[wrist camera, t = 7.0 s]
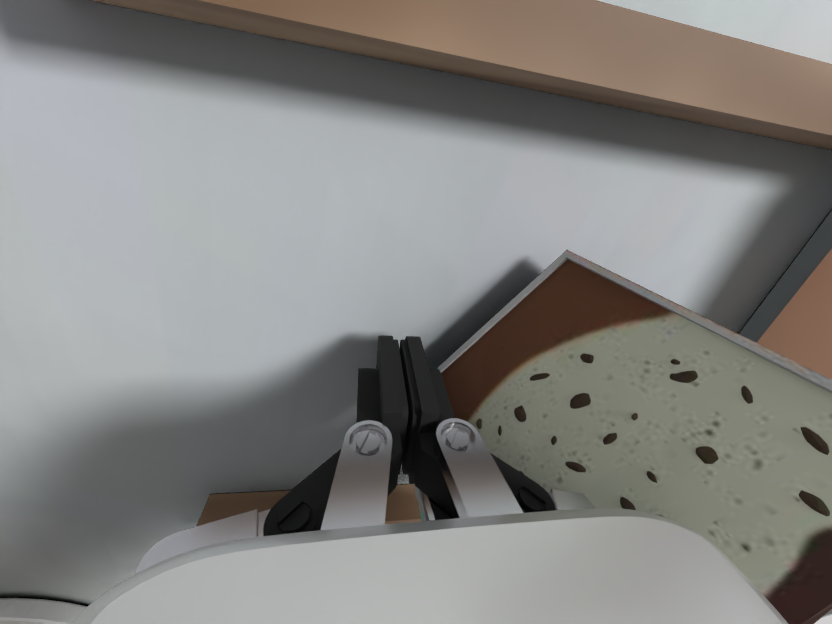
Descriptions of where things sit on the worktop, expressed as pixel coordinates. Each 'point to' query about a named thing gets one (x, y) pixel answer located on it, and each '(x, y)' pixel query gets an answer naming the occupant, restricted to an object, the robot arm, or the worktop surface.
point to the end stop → (800, 307)
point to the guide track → (543, 79)
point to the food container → (659, 422)
